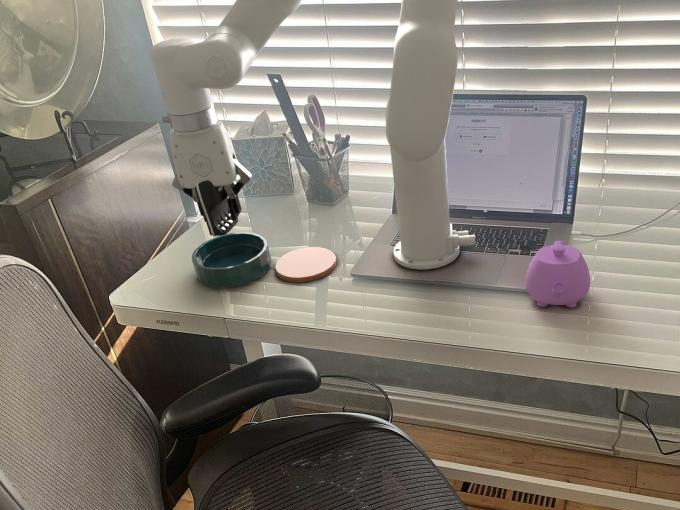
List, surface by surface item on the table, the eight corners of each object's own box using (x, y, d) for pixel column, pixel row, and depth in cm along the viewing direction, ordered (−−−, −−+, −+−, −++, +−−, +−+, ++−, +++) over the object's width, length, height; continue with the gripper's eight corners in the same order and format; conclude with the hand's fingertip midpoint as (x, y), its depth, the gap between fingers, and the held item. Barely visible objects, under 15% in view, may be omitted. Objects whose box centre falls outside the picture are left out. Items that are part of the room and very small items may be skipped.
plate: (339, 249, 135) (339, 244, 135) (332, 280, 126) (331, 275, 125) (282, 253, 136) (281, 248, 136) (270, 284, 127) (269, 279, 127)
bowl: (278, 250, 138) (273, 230, 135) (263, 288, 126) (258, 266, 124) (209, 254, 139) (203, 234, 136) (189, 292, 128) (182, 271, 125)
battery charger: (227, 238, 124) (209, 179, 117) (209, 237, 125) (189, 179, 119) (244, 220, 129) (228, 162, 123) (227, 219, 131) (209, 162, 124)
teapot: (588, 275, 119) (591, 227, 113) (590, 326, 107) (594, 274, 101) (526, 275, 121) (527, 227, 115) (522, 324, 109) (523, 273, 104)
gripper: (138, 131, 113) (172, 230, 124) (237, 121, 111) (263, 223, 122) (153, 116, 119) (184, 212, 130) (248, 106, 117) (271, 204, 128)
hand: (222, 216), depth 126 cm, fingers closed on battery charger, 4 cm apart
